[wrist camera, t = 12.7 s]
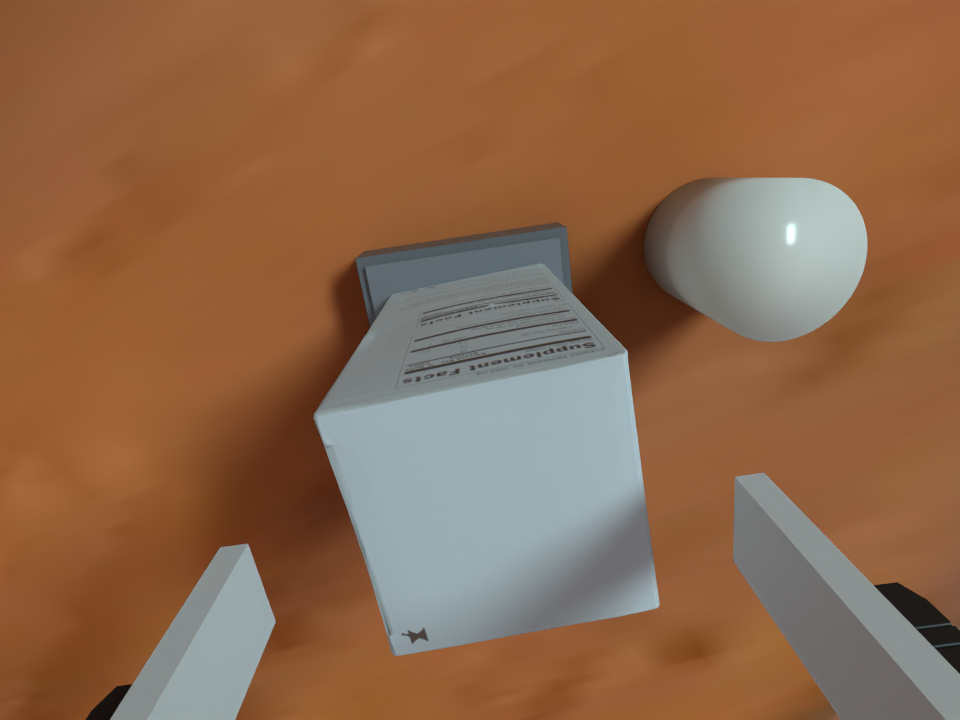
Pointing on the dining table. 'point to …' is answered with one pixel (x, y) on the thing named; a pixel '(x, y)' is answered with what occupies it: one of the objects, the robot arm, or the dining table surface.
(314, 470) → the dining table surface
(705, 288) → the white rounded knob
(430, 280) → the plate
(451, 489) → the supplement box
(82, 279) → the dining table surface
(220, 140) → the dining table surface
